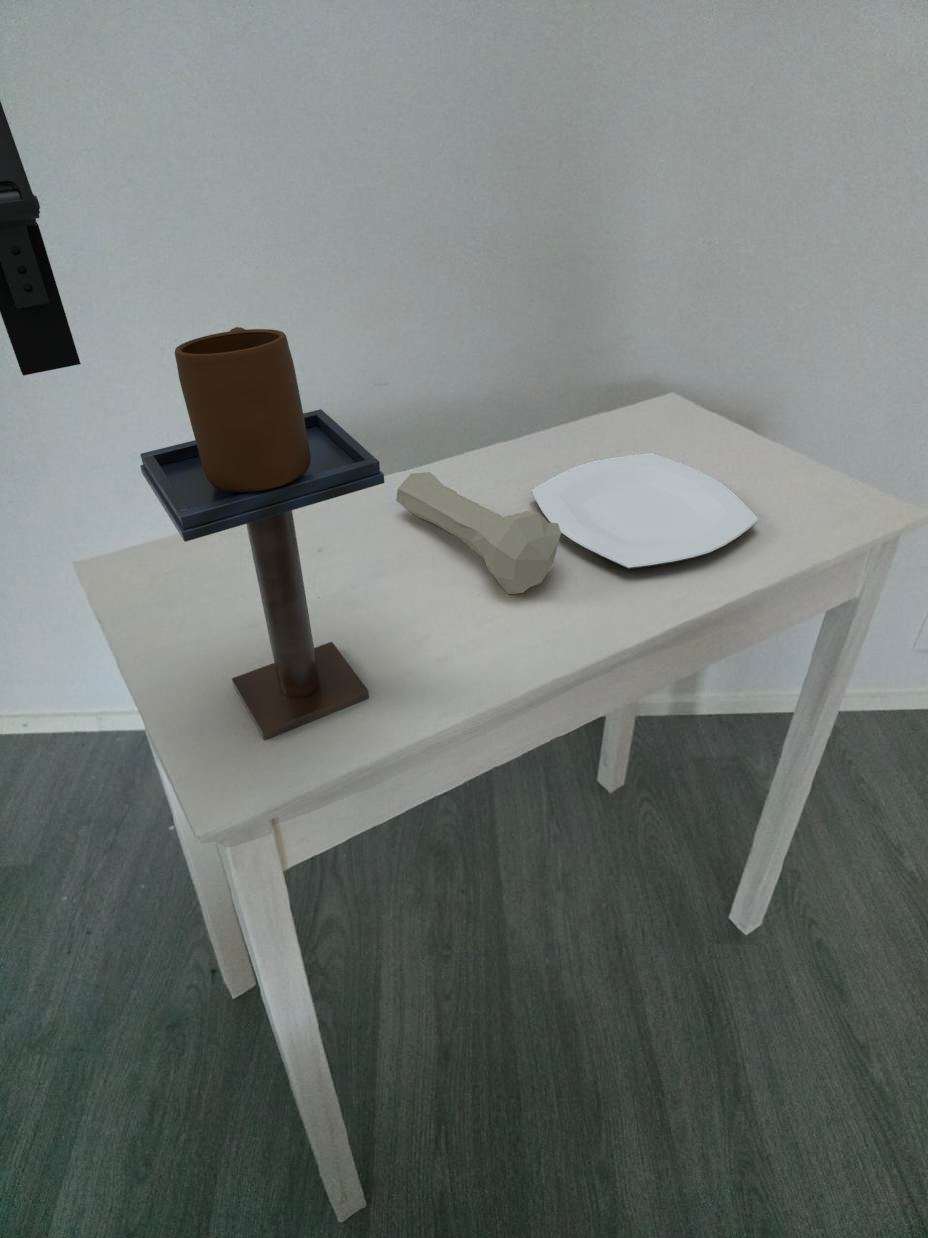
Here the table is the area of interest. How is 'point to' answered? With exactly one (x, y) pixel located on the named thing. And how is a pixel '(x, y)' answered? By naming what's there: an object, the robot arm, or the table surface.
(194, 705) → the table surface
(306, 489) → the pedestal tray stand
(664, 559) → the plate
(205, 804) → the table surface
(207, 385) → the mug
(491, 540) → the faceted club
